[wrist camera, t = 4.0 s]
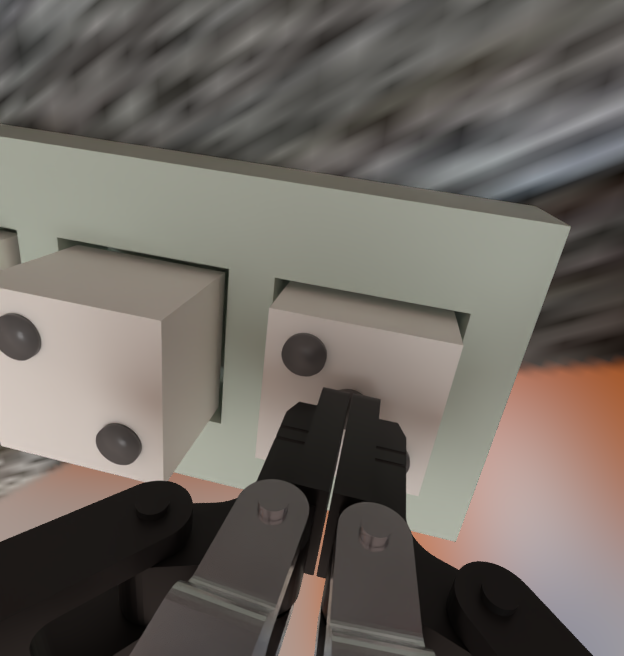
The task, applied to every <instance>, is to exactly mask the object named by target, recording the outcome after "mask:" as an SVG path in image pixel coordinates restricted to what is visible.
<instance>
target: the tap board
mask: <svg viewBox="0 0 624 656" xmlns="http://www.w3.org/2000/svg"><path fill="white" fill-rule="evenodd" d="M570 229H571V226H569V225H568V224H566V223H564V222H562V221H561V220H559V219H557V218H555V217H553V216H552V215H550V214H548V213H546V212H545V211H543V210H541V209H539V208H537V207H536V206H531V205H525V204H518V203H512V202H505V201H499V200H492V199H486V198H479V197H473V196H466V195H460V194H453V193H447V192H440V191H434V190H427V189H421V188H414V187H408V186H401V185H395V184H388V183H382V182H375V181H369V180H362V179H356V178H349V177H343V176H336V175H330V174H323V173H317V172H310V171H304V170H297V169H291V168H284V167H278V166H271V165H265V164H258V163H252V162H245V161H239V160H232V159H226V158H219V157H213V156H206V155H200V154H193V153H187V152H180V151H174V150H167V149H161V148H154V147H148V146H141V145H135V144H128V143H122V142H115V141H109V140H102V139H96V138H89V137H83V136H76V135H70V134H63V133H57V132H50V131H44V130H37V129H31V128H24V127H18V126H11V125H5V124H0V230H1V231H6V232H12V233H17V236H18V243H19V250H20V257H21V263H24V262H27V261H30V260H33V259H36V258H39V257H42V256H45V255H48V254H51V253H54V252H57V251H60V250H63V249H66V248H69V247H72V246H75V245H81V246H87V247H92V248H97V249H103V250H108V251H114V252H119V253H124V254H130V255H135V256H140V257H146V258H151V259H156V260H162V261H167V262H173V263H178V264H183V265H189V266H194V267H199V268H205V269H210V270H215V271H221V272H225V285H224V306H223V327H222V348H221V368H220V389H219V407H218V409H217V410H216V411H215V413H214V414H213V416H212V417H211V419H210V420H209V422H208V423H207V424H206V426H205V427H204V429H203V430H202V432H201V433H200V435H199V436H198V438H197V439H196V440H195V442H194V443H193V445H192V446H191V448H190V449H189V451H188V452H187V453H186V455H185V456H184V458H183V459H182V461H181V462H180V464H179V465H178V467H177V468H176V469H175V471H174V472H176V473H179V474H184V475H187V476H191V477H196V478H200V479H204V480H208V481H212V482H216V483H220V484H224V485H228V486H232V487H236V488H240V489H245V488H246V487H247V486H249V485H250V484H252V483H254V482H256V481H257V479H258V476H259V474H260V472H261V469H262V467H263V465H264V463H265V460H263V459H259V458H255V453H256V442H257V431H258V421H259V410H260V399H261V389H262V378H263V367H264V357H265V346H266V335H267V325H268V314H269V307H270V306H271V305H272V304H273V302H274V301H275V300H276V298H277V297H278V296H279V295H280V293H281V292H282V291H283V290H284V288H285V287H286V286H287V285H288V283H289V282H290V281H296V282H301V283H307V284H312V285H318V286H323V287H328V288H334V289H339V290H345V291H350V292H355V293H361V294H366V295H372V296H377V297H382V298H388V299H393V300H399V301H404V302H409V303H415V304H420V305H426V306H431V307H436V308H442V309H447V310H453V311H454V312H455V316H456V319H457V323H458V327H459V331H460V334H461V338H462V342H463V345H464V346H463V349H462V352H461V356H460V359H459V362H458V366H457V369H456V372H455V376H454V379H453V382H452V386H451V389H450V392H449V396H448V399H447V402H446V406H445V409H444V412H443V416H442V419H441V422H440V426H439V429H438V432H437V436H436V439H435V442H434V446H433V449H432V452H431V456H430V459H429V462H428V466H427V469H426V472H425V476H424V479H423V482H422V486H421V489H420V492H419V496H415V495H410V494H406V520H407V524H408V526H409V528H410V530H411V531H414V532H418V533H423V534H426V535H430V536H434V537H439V538H442V539H446V540H450V541H455V542H456V540H457V537H458V534H459V531H460V528H461V526H462V523H463V521H464V518H465V514H466V512H467V510H468V507H469V504H470V501H471V499H472V496H473V493H474V490H475V487H476V485H477V482H478V480H479V477H480V474H481V471H482V469H483V466H484V463H485V460H486V458H487V455H488V452H489V450H490V447H491V444H492V441H493V438H494V436H495V433H496V430H497V428H498V425H499V422H500V419H501V417H502V414H503V411H504V409H505V406H506V403H507V400H508V398H509V395H510V392H511V389H512V387H513V384H514V381H515V379H516V376H517V373H518V370H519V368H520V365H521V362H522V360H523V357H524V354H525V351H526V349H527V346H528V343H529V340H530V338H531V335H532V332H533V329H534V327H535V324H536V321H537V319H538V316H539V313H540V310H541V308H542V305H543V302H544V299H545V297H546V294H547V291H548V289H549V286H550V283H551V280H552V278H553V275H554V272H555V269H556V267H557V264H558V261H559V259H560V256H561V253H562V250H563V248H564V245H565V242H566V239H567V237H568V234H569V231H570ZM335 479H336V477H335V476H334V480H333V485H332V489H331V494H330V499H329V504H328V508H327V510H329V509H330V504H331V498H332V493H333V488H334V483H335Z"/></svg>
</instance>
